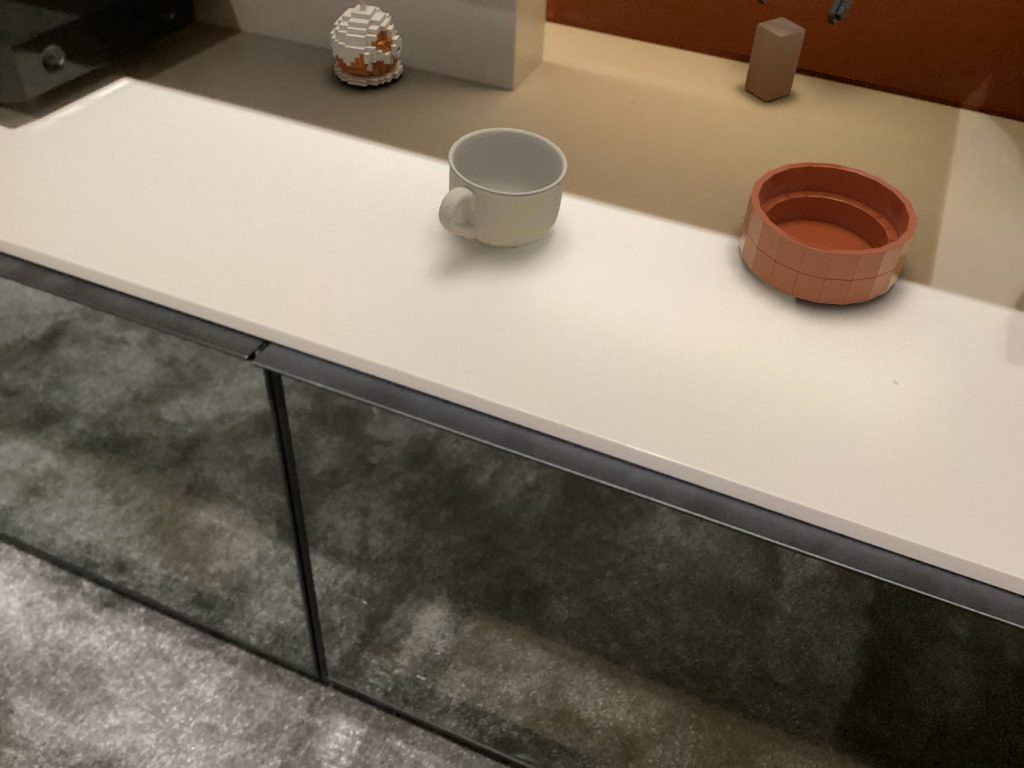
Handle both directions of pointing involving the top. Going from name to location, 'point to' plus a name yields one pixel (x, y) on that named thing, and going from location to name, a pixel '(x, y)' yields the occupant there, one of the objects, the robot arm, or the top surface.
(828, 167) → the bowl
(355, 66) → the decorative ornament
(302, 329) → the top surface
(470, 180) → the teacup
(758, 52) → the wooden block
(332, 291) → the top surface
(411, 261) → the top surface
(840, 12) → the robot arm
